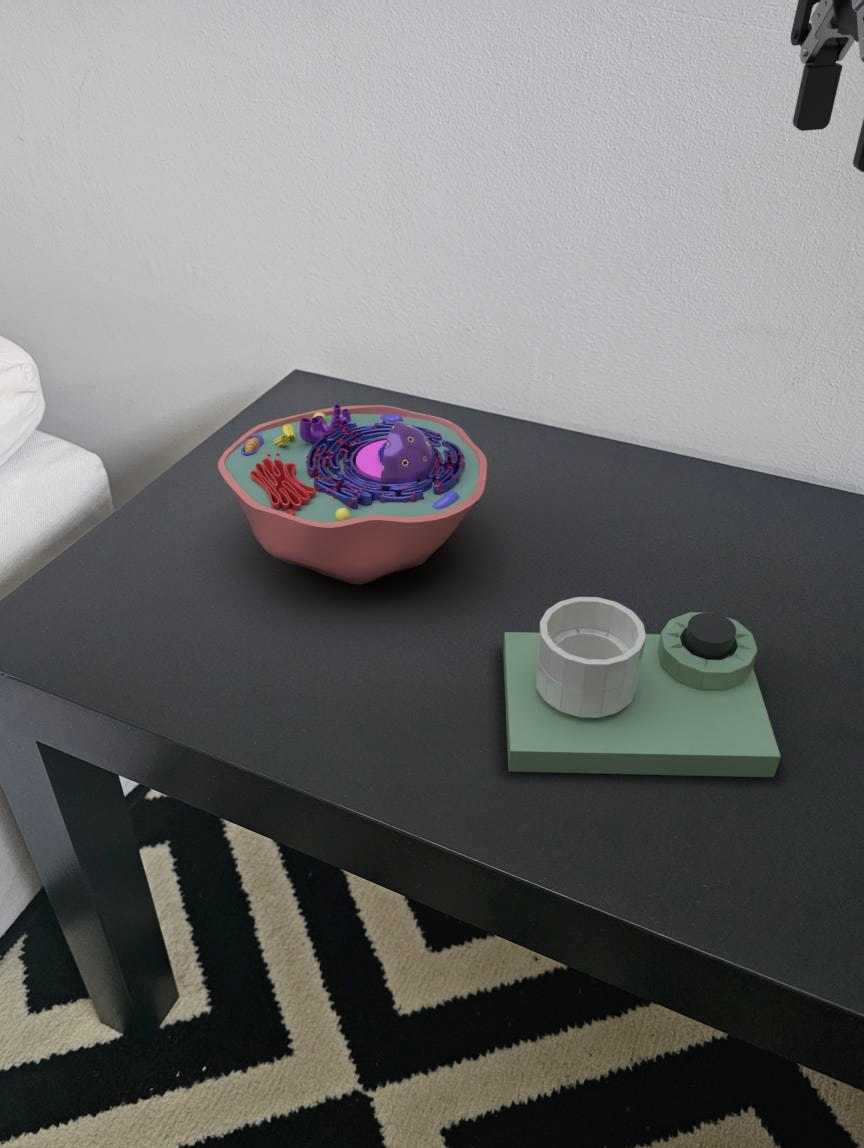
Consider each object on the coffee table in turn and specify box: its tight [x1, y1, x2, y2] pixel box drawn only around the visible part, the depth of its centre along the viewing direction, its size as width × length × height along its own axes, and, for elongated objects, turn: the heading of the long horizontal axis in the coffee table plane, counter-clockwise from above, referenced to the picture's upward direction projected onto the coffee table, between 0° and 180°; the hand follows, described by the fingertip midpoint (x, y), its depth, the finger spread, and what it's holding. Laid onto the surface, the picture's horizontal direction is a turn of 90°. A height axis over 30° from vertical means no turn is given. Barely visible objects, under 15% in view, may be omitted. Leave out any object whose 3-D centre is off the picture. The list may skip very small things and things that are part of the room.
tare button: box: [684, 612, 736, 660], centre depth 67 cm, size 3×3×2 cm
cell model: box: [217, 403, 488, 586], centre depth 78 cm, size 17×20×11 cm
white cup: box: [535, 596, 647, 718], centre depth 65 cm, size 6×6×5 cm
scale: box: [502, 611, 782, 778], centre depth 67 cm, size 16×12×4 cm
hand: (839, 148), depth 65 cm, fingers open, 8 cm apart
